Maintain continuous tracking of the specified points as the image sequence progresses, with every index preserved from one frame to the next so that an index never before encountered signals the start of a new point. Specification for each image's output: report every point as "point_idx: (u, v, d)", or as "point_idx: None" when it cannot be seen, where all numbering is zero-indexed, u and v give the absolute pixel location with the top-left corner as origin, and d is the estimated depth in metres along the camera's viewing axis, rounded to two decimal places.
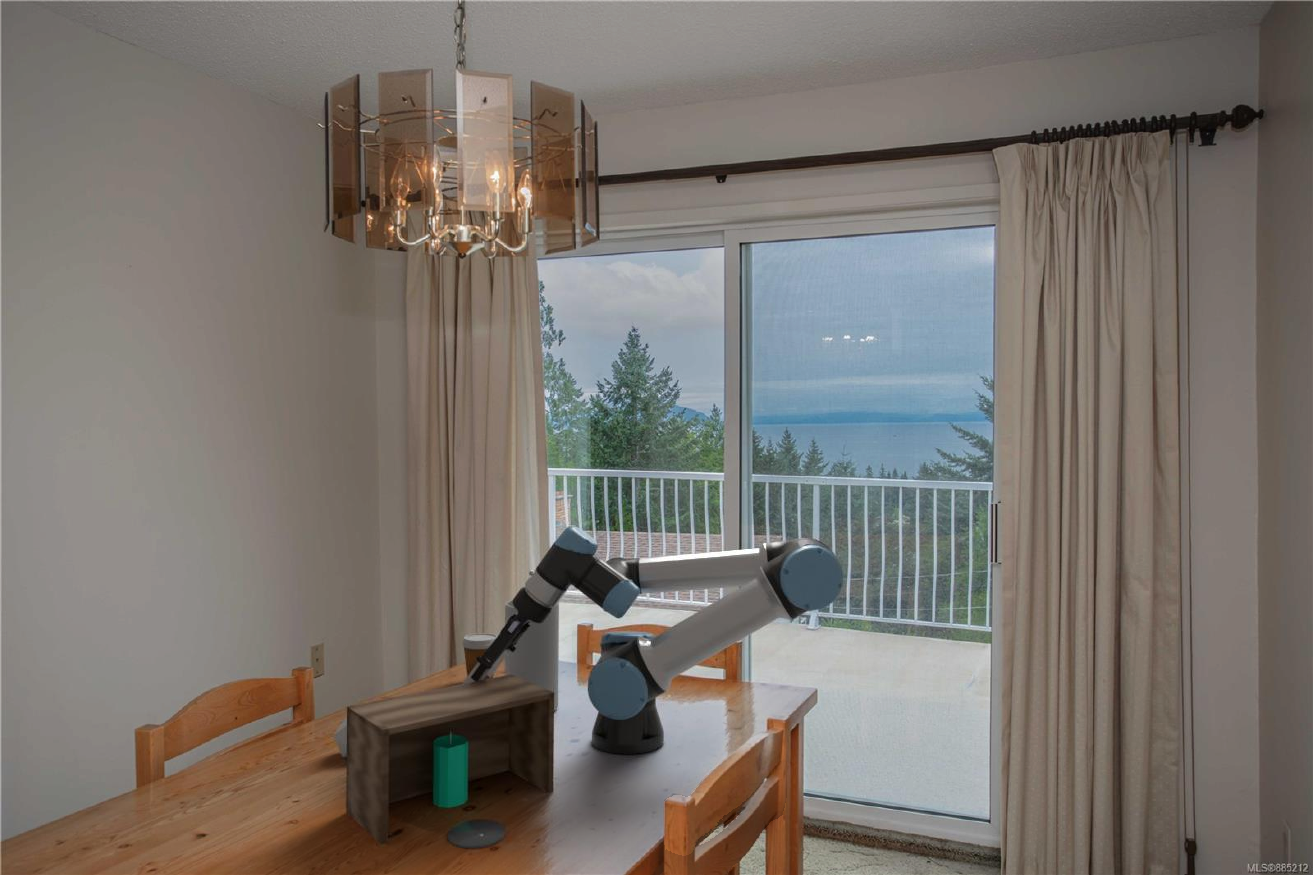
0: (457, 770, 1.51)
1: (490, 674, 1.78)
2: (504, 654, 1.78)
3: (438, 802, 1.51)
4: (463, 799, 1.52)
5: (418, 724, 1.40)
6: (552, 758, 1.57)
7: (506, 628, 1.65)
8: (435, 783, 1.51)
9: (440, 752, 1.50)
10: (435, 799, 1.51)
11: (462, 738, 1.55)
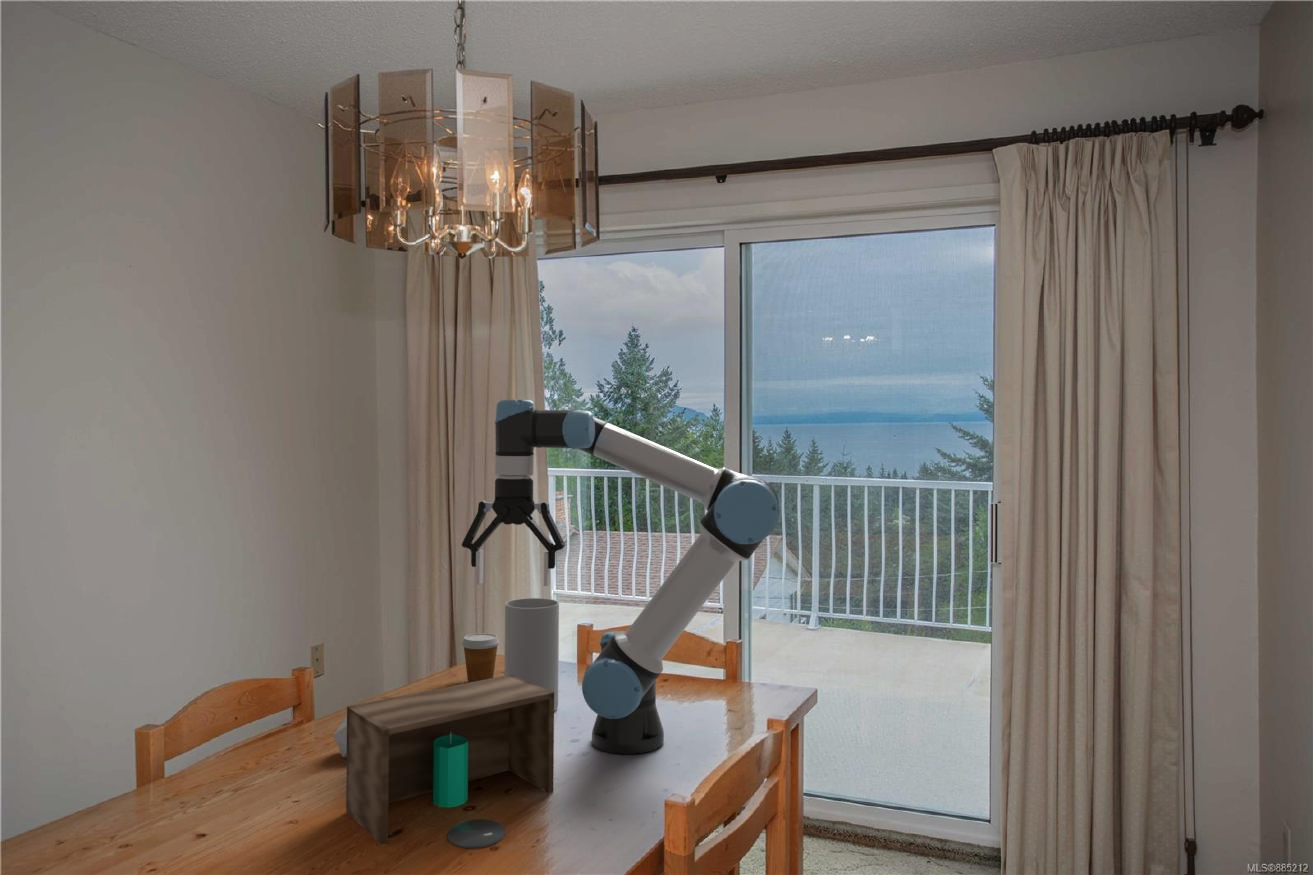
0: (457, 770, 1.51)
1: (544, 583, 1.71)
2: None
3: (438, 802, 1.51)
4: (463, 799, 1.52)
5: (418, 724, 1.40)
6: (552, 758, 1.57)
7: None
8: (435, 783, 1.51)
9: (440, 752, 1.50)
10: (435, 799, 1.51)
11: (462, 738, 1.55)
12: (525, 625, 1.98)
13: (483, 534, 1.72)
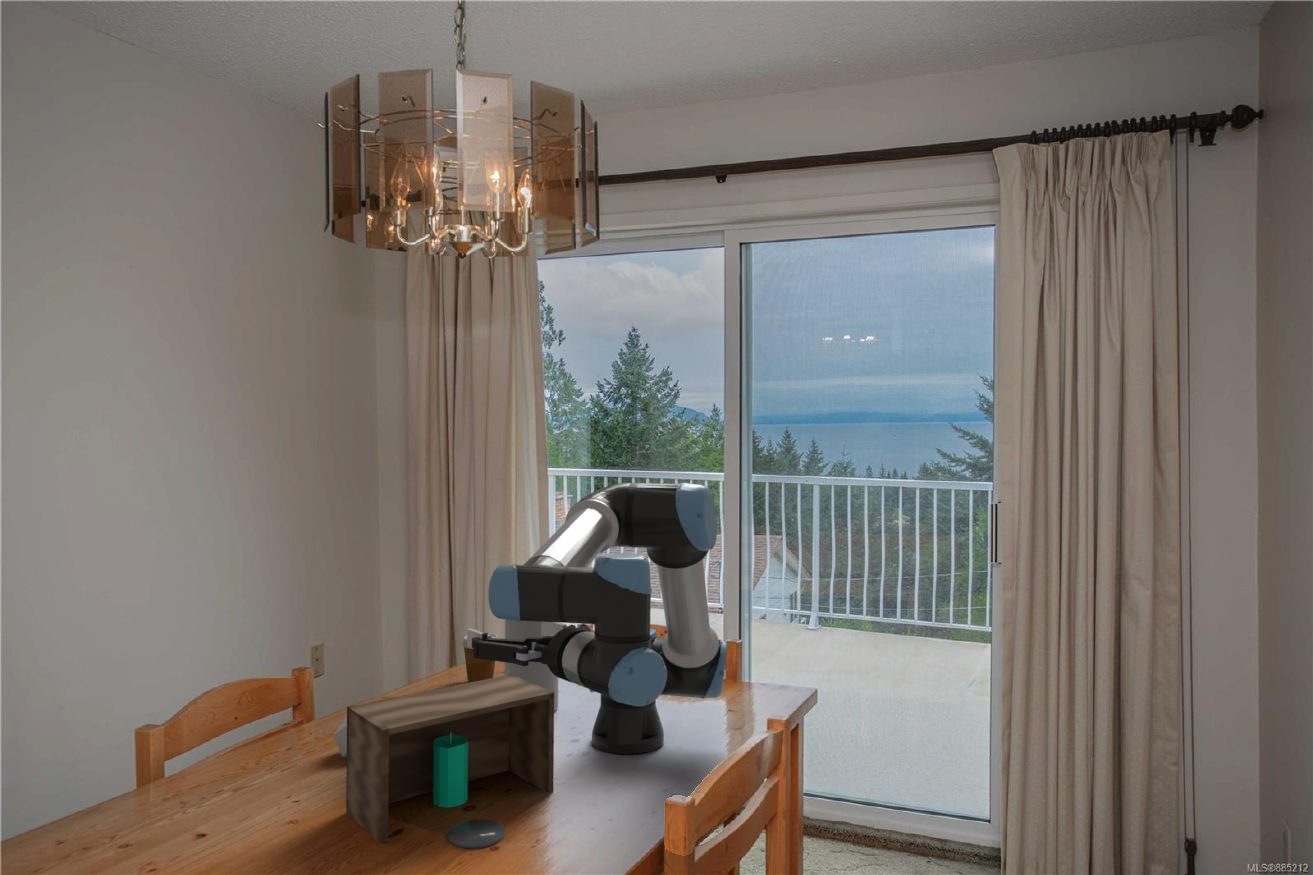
0: (457, 770, 1.51)
1: None
2: None
3: (438, 802, 1.51)
4: (463, 799, 1.52)
5: (418, 724, 1.40)
6: (552, 758, 1.57)
7: None
8: (435, 783, 1.51)
9: (440, 752, 1.50)
10: (435, 799, 1.51)
11: (462, 738, 1.55)
12: (525, 625, 1.98)
13: None
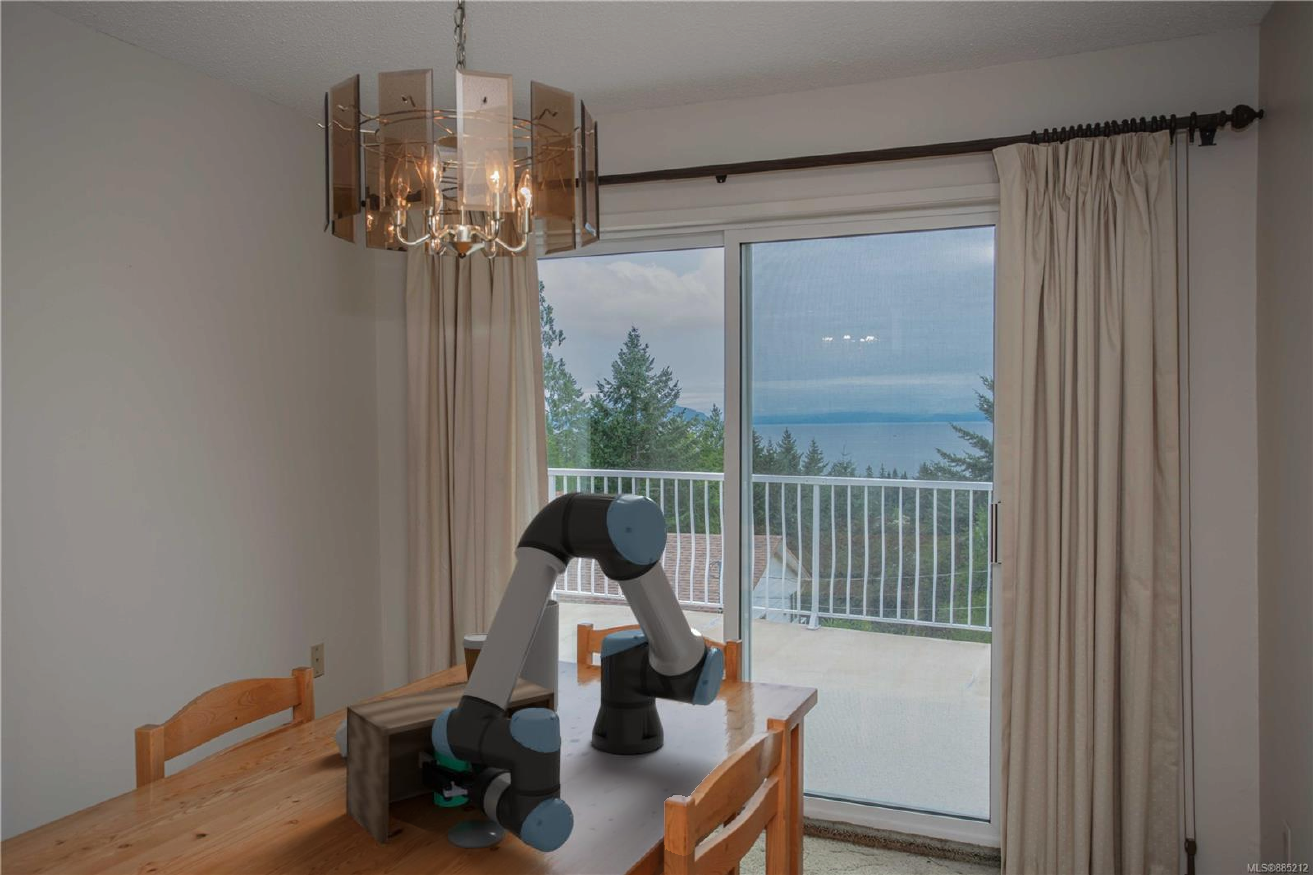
0: (458, 770, 1.51)
1: None
2: None
3: (439, 801, 1.51)
4: (464, 799, 1.52)
5: (418, 724, 1.40)
6: None
7: None
8: None
9: None
10: (436, 798, 1.51)
11: None
12: None
13: None
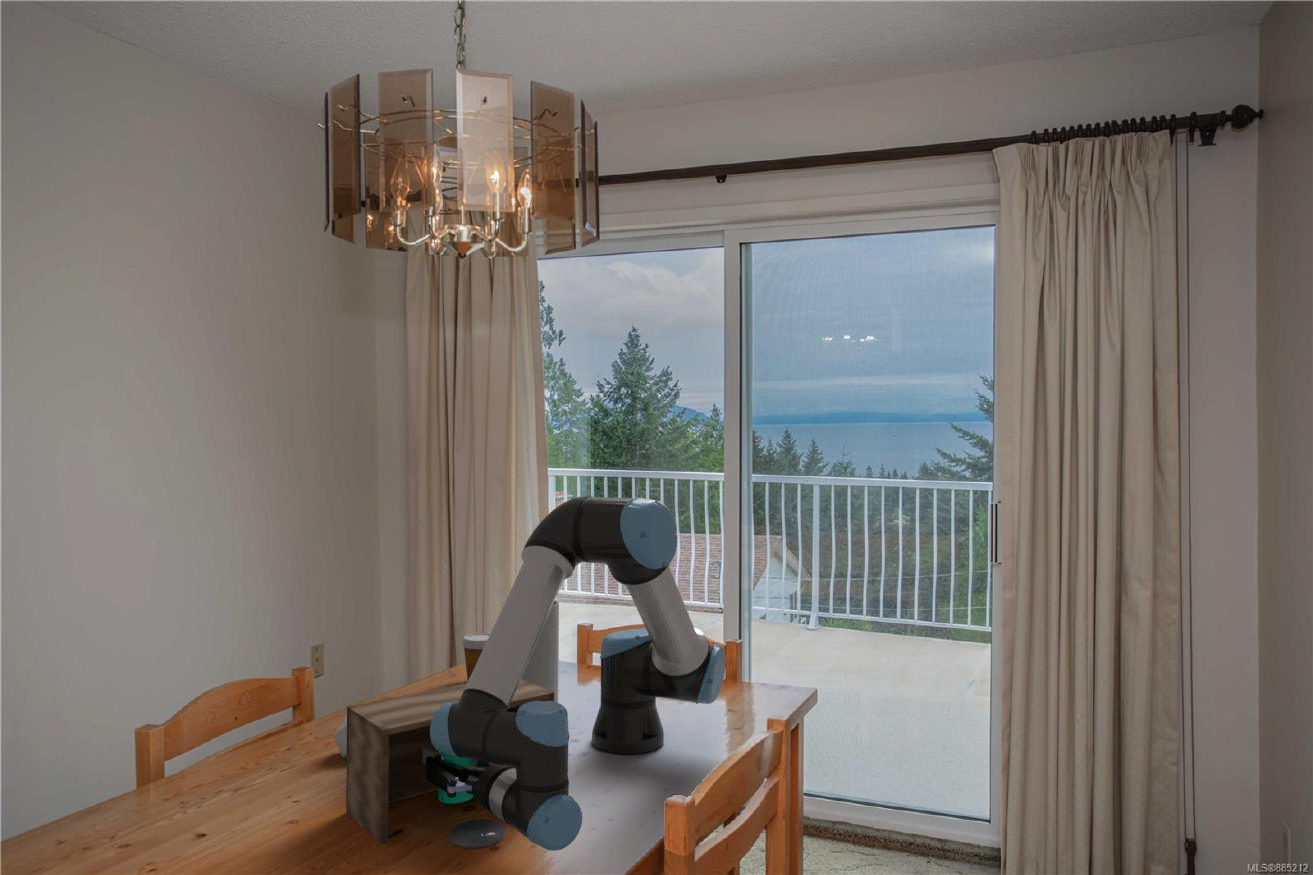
0: (462, 765, 1.46)
1: None
2: None
3: (443, 798, 1.46)
4: (469, 795, 1.47)
5: (418, 724, 1.40)
6: None
7: None
8: None
9: None
10: (440, 795, 1.46)
11: None
12: None
13: None
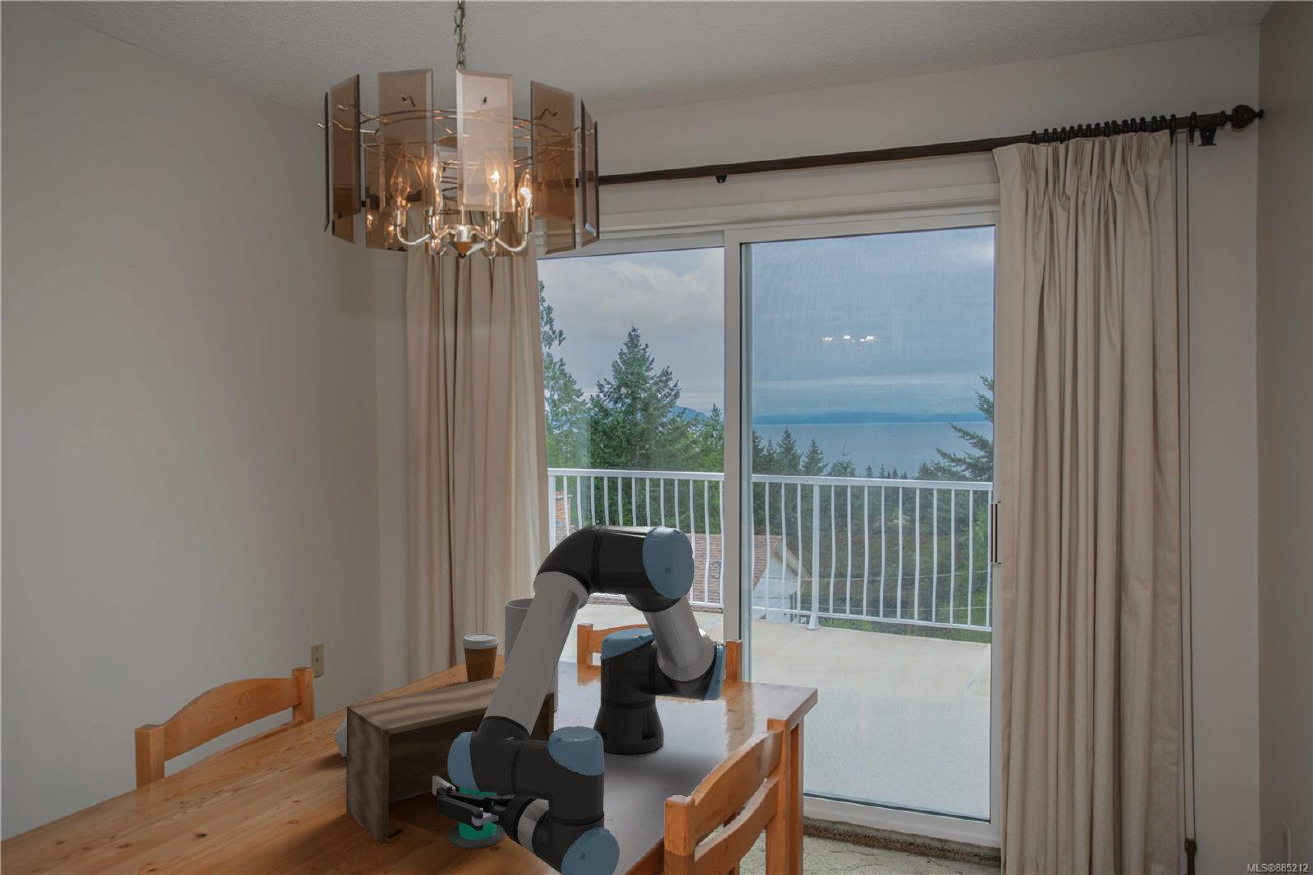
0: None
1: None
2: None
3: (465, 834, 1.37)
4: (492, 830, 1.39)
5: (418, 724, 1.40)
6: None
7: None
8: None
9: None
10: (461, 830, 1.38)
11: None
12: None
13: None
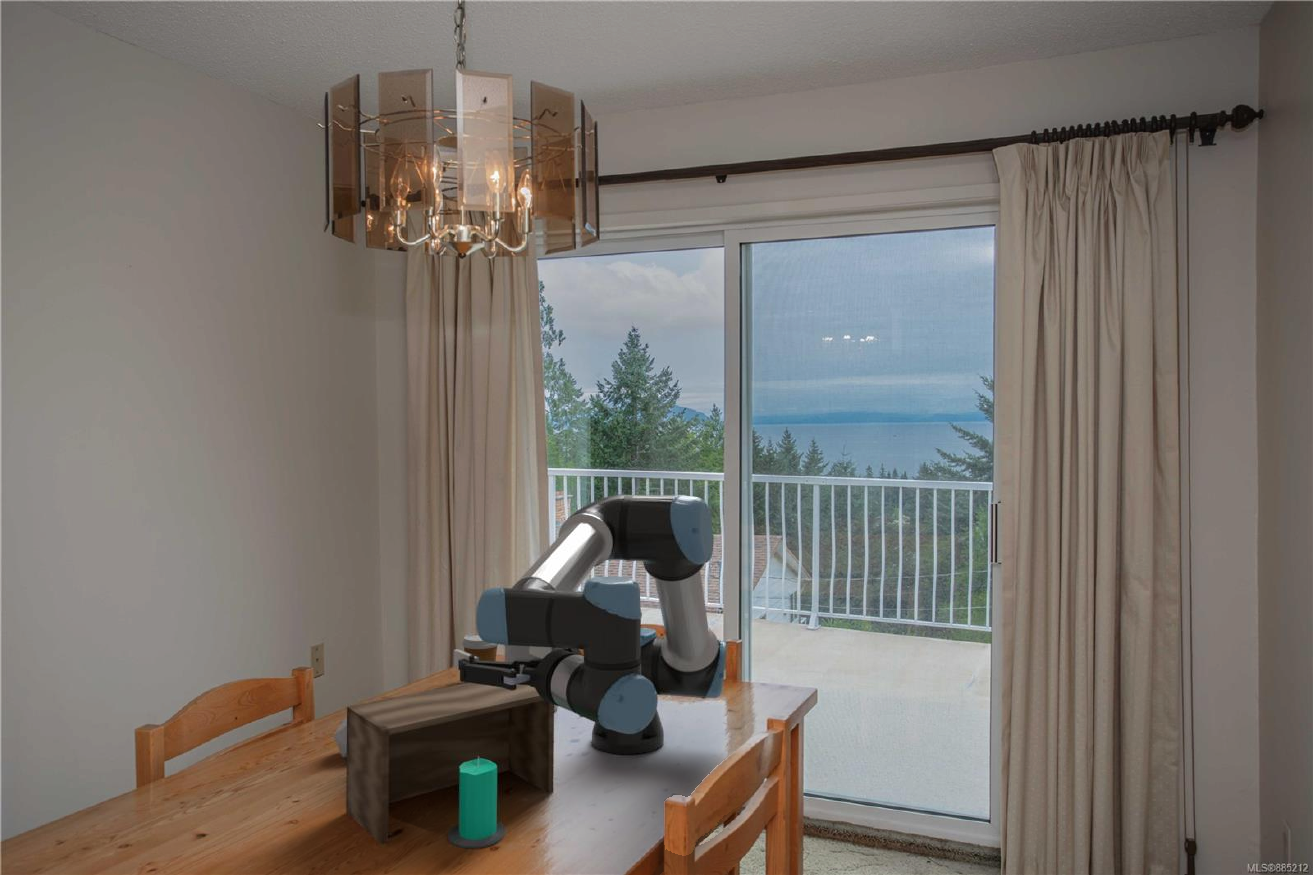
0: (485, 799, 1.38)
1: None
2: None
3: (465, 834, 1.37)
4: (492, 830, 1.39)
5: (418, 724, 1.40)
6: (552, 758, 1.57)
7: None
8: (461, 813, 1.38)
9: (467, 779, 1.37)
10: (461, 830, 1.38)
11: (491, 763, 1.42)
12: None
13: None
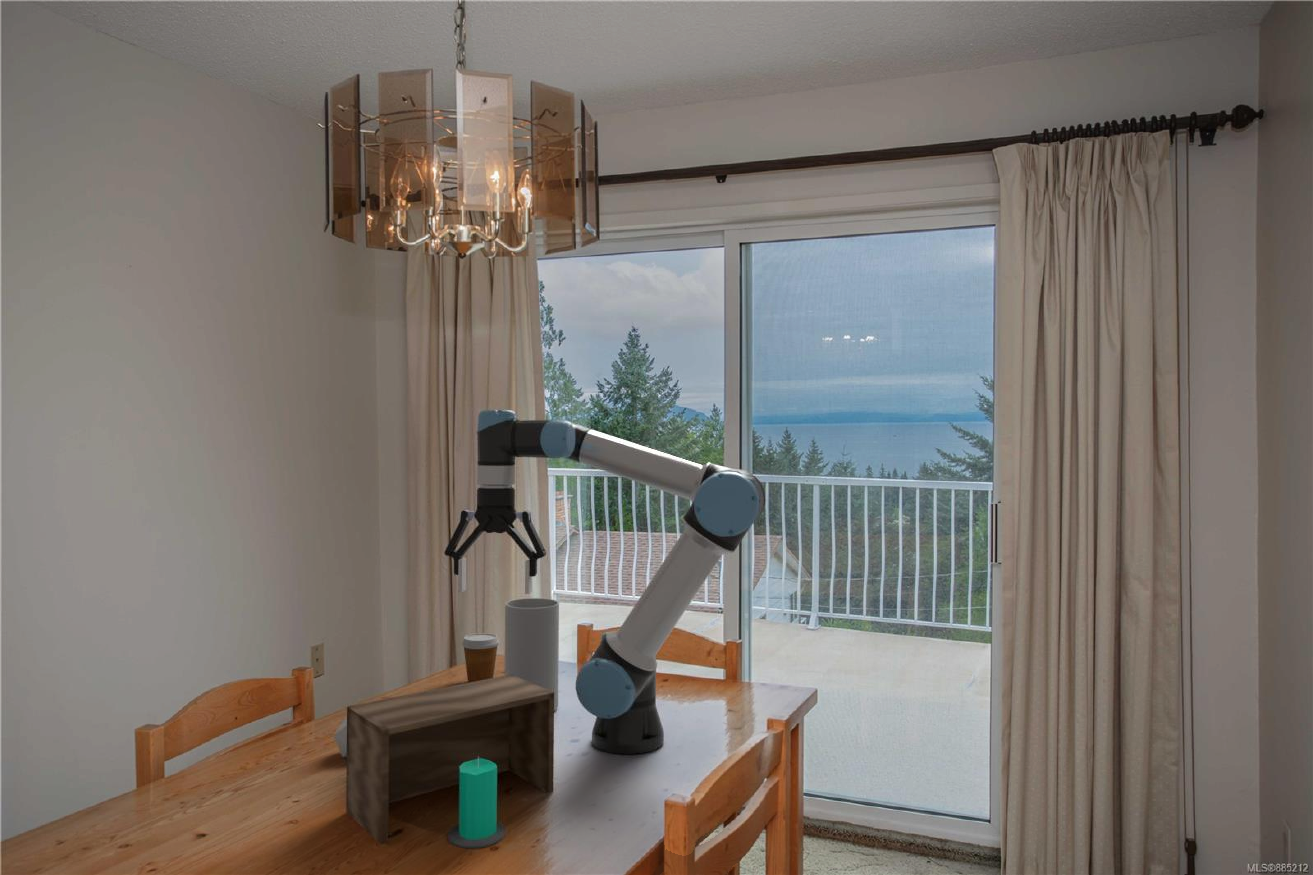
0: (485, 799, 1.38)
1: (525, 590, 1.74)
2: None
3: (465, 834, 1.37)
4: (492, 830, 1.39)
5: (418, 724, 1.40)
6: (552, 758, 1.57)
7: None
8: (461, 813, 1.38)
9: (467, 779, 1.37)
10: (461, 830, 1.38)
11: (491, 763, 1.42)
12: (525, 625, 1.98)
13: (465, 542, 1.75)
